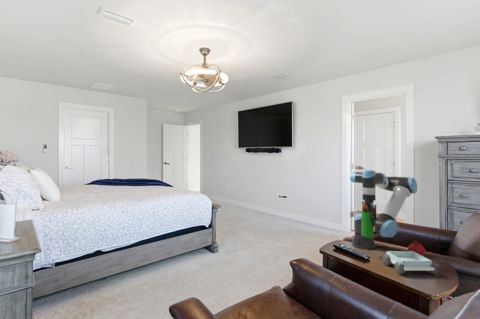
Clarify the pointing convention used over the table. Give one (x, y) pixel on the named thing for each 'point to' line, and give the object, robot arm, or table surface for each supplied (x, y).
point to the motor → (367, 224)
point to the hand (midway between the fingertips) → (369, 229)
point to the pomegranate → (417, 248)
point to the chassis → (408, 262)
